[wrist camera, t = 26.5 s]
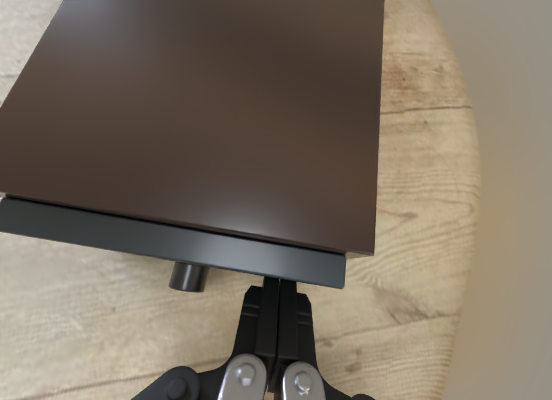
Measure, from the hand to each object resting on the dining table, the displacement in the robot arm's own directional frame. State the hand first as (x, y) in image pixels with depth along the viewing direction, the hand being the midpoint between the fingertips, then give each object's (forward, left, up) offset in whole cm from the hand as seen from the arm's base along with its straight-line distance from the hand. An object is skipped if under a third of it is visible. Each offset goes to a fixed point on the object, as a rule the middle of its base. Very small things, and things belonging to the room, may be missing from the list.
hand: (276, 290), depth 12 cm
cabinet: (-1, -10, -4) cm, 11 cm away
